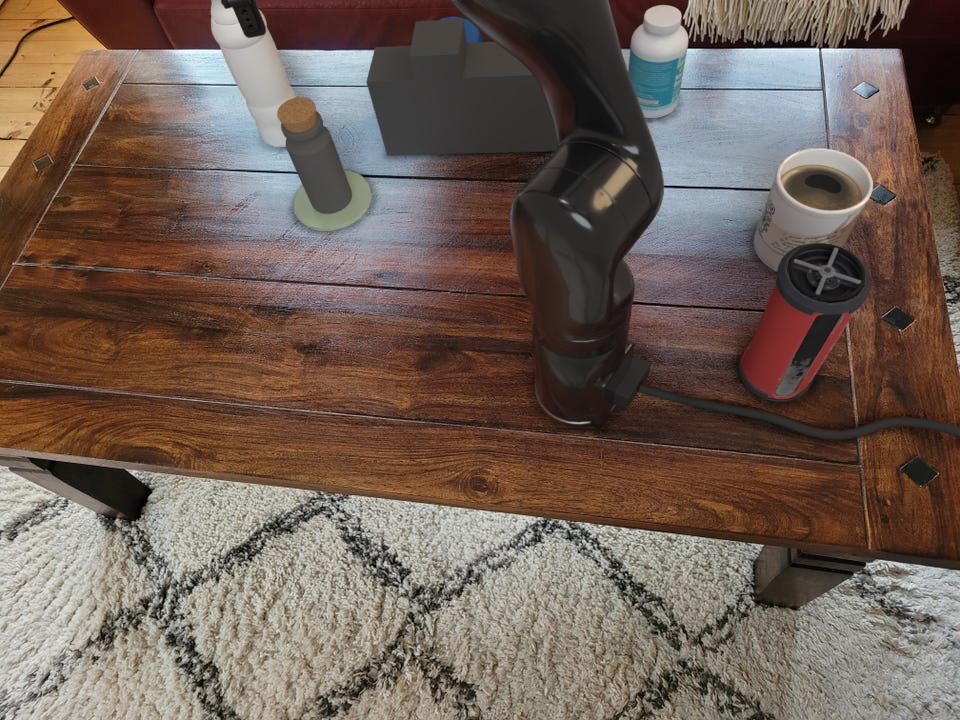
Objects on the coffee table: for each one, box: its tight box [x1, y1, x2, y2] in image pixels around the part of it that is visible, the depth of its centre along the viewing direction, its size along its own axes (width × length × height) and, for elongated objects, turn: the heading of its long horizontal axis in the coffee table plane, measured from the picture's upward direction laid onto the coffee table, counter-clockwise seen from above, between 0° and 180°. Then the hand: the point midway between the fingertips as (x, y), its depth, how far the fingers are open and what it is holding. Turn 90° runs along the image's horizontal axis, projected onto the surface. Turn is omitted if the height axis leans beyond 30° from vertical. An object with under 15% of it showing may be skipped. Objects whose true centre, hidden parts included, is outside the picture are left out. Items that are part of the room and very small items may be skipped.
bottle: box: [277, 96, 352, 214], centre depth 89 cm, size 6×6×15 cm
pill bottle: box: [627, 4, 689, 119], centre depth 93 cm, size 8×7×14 cm
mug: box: [752, 147, 874, 273], centre depth 79 cm, size 10×12×11 cm
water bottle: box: [210, 0, 297, 148], centre depth 93 cm, size 7×7×25 cm
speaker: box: [737, 243, 872, 403], centre depth 67 cm, size 8×8×18 cm
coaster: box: [292, 169, 373, 232], centre depth 95 cm, size 11×11×1 cm
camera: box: [365, 16, 557, 157], centre depth 95 cm, size 25×16×16 cm, turn 86°
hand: (256, 10), depth 72 cm, fingers open, 8 cm apart
